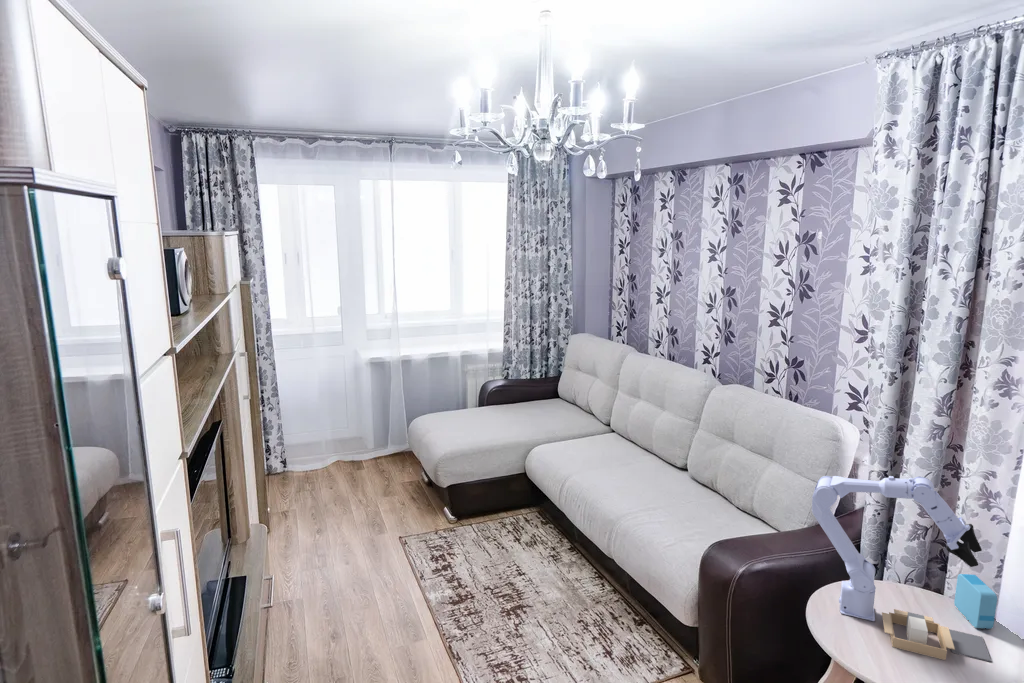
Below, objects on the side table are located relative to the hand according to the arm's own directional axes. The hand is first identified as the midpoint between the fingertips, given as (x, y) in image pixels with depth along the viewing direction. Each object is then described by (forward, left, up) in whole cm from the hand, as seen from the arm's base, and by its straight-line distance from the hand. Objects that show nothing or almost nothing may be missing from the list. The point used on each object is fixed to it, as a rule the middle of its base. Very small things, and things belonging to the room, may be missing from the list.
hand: (976, 558), depth 172 cm
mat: (0, -2, -27) cm, 27 cm away
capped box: (-13, -5, -27) cm, 30 cm away
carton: (-13, -4, -27) cm, 30 cm away
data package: (+4, +14, -27) cm, 31 cm away
